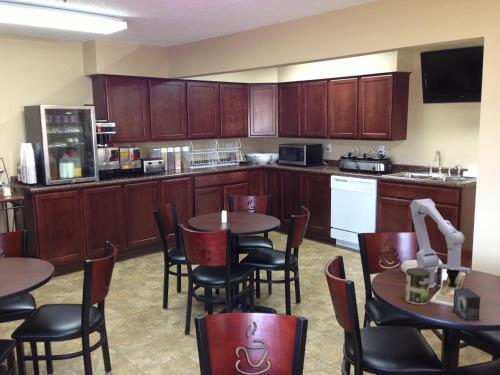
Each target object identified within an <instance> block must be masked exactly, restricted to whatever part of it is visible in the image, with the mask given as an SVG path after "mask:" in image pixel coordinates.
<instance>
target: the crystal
mask: <svg viewBox="0 0 500 375" xmlns="http://www.w3.org/2000/svg"><path fill="white" fill-rule="evenodd" d="M438 259H439V264H444V263H443V262H442V260H441V259H440V258H438ZM416 266H418V265H417V259H408V260H407V259H406V260H404V261H403V262H402V264H401V265H400V268H401V271H402V272H403V273H405V274H406V275H407V272H406V270H407V269H410V268H416ZM437 269H438V268H437V266H436V269H435V274H436V273H437Z"/></svg>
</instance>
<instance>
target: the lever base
mask: <svg viewBox="0 0 500 375" xmlns="http://www.w3.org/2000/svg"><path fill="white" fill-rule="evenodd" d="M445 281H446V279H443V280H442V285H441V286H440V288H439V289H438V290H437V291H436V292H435V294H434V295H433V296H432V297H431V298H430V300H429V303H430V304H436V305H440V306H444V307H445V306H446V307H448V308H453V304H454V303H450V302H445V301H441V300H436V294H437V293H438V292H439V291H440V290H441V291H442V289H443V286H444V284H445ZM461 288H466V283H463V284H462V285H461Z"/></svg>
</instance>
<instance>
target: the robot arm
mask: <svg viewBox="0 0 500 375" xmlns="http://www.w3.org/2000/svg"><path fill="white" fill-rule="evenodd" d="M435 205H436V204H435V202H434V201H433V200H432V199H431V198H423V199H414V200H412V202H411V203H410V205H409V207H410V212H411V218H412V222H413V227H414V231H415V235H416V240H417V243H418V247H419V248H418V249H419V251H418V252H417V253H416V260H417V265H418V266H416V268H419V269H424V270H427V271H429V272H430V278H429V289H434V287H435V286H436V285H437V282H435V275H436V273H435V268H436V266H437V268H442V269H443V270H446V274H447V276H448V277H449V280H450V285H452V286H454V284H455V280H456V278H457V276H458V274H459V272H463V273H465V274H471V270H472V268H471V267H465V266H461V261H462V259H461V258H462V244H463V243H464V242H465V241H466V240H465V235H464V234H463V232H461V231H458V230H457V229H456V228H455V227H454V226H453V225H452V223H451V221H449V220H447V219H444V218H443V216H442V215H441V214H440V212H439V211H438V210H437V208H436V206H435ZM427 215H428V216H430V218H432V219H433V221H435V223H436V224H437V228H438V229H439V231H440V232H441V233H442V234H443V235H444V237H445V242H446V244H447V245H446V247H447V260H446V261H447V263H443V264H439V259H440V258H439V256H438V255H437V252H436V251H435V250H434V249H433V248H432V247H431V243H430V238H429V234H428V230H427V225H426V221H425V217H426V216H427Z"/></svg>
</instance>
